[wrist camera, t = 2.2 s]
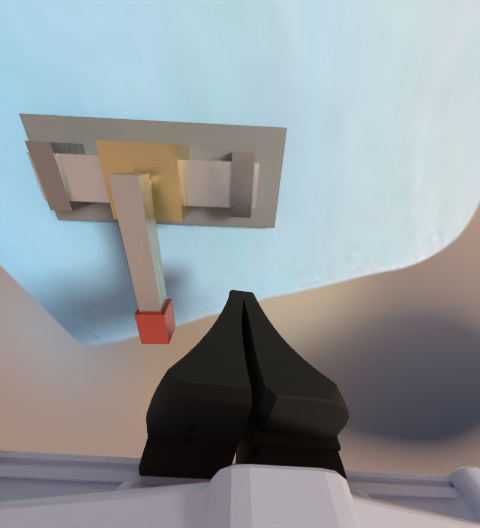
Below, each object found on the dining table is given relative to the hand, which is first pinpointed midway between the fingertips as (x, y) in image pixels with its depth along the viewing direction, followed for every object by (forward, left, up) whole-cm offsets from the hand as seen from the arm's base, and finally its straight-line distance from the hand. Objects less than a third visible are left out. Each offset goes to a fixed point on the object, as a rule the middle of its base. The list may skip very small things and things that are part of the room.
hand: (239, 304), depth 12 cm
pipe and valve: (-6, +6, -8) cm, 12 cm away
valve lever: (-6, +1, -3) cm, 7 cm away
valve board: (-6, +6, -8) cm, 12 cm away
